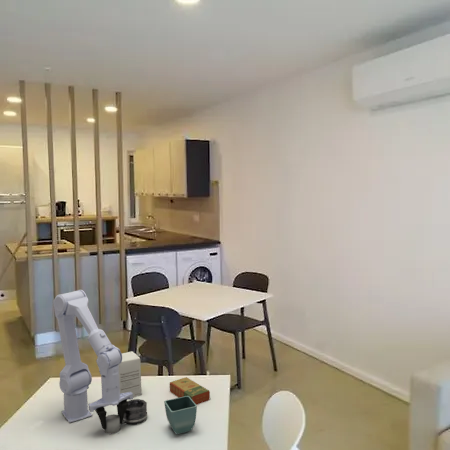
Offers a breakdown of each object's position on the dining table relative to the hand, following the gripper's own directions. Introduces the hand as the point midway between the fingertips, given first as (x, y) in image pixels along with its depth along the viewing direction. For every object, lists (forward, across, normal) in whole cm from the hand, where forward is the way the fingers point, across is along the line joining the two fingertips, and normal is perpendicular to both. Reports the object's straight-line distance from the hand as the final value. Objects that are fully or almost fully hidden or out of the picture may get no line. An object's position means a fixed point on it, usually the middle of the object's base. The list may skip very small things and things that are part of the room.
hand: (112, 425), depth 149 cm
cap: (+1, 0, 0) cm, 1 cm away
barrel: (+1, +9, +2) cm, 9 cm away
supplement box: (+2, +15, +22) cm, 27 cm away
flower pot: (+2, +18, -14) cm, 23 cm away
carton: (+2, +33, +5) cm, 34 cm away
